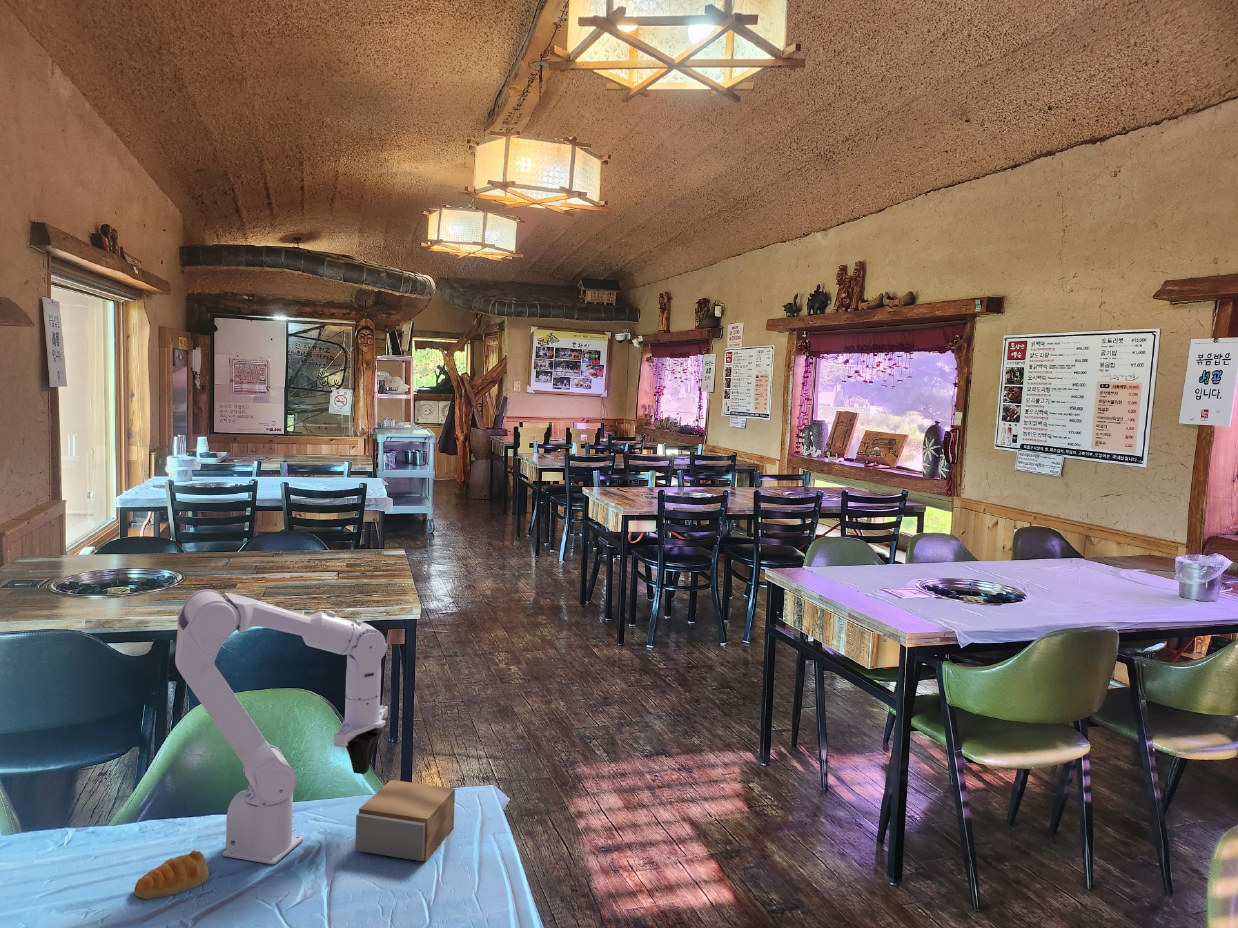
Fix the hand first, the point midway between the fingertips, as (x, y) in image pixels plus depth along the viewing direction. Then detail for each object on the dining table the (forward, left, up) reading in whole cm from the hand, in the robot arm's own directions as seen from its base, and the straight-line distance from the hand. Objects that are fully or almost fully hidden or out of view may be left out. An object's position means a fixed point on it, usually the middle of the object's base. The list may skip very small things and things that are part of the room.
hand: (360, 771), depth 136 cm
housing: (+10, -2, -9) cm, 14 cm away
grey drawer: (+10, -3, -9) cm, 14 cm away
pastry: (-17, -23, -10) cm, 30 cm away
